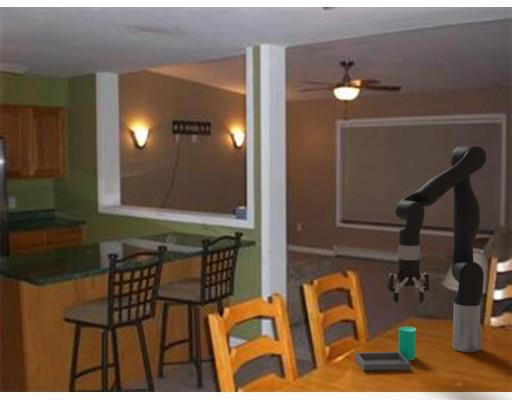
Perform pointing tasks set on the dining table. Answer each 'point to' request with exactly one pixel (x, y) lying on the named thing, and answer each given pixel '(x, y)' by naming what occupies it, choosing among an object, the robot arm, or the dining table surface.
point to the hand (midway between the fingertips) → (408, 302)
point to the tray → (382, 361)
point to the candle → (407, 342)
